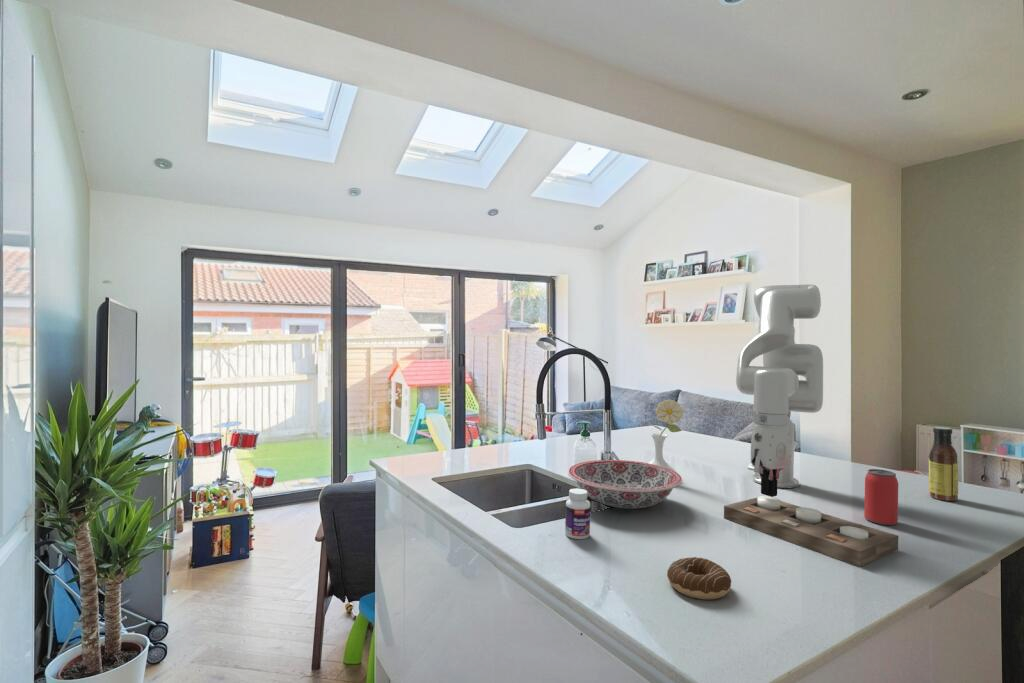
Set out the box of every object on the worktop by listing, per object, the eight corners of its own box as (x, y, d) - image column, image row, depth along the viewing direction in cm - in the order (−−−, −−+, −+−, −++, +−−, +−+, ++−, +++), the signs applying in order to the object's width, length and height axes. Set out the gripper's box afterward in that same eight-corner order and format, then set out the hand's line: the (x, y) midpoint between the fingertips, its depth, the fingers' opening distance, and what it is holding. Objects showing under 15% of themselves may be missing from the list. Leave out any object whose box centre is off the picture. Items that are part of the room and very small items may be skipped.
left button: (752, 505, 124) (753, 497, 124) (765, 502, 127) (765, 494, 127) (772, 512, 120) (772, 503, 120) (784, 508, 123) (784, 500, 123)
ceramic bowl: (597, 481, 154) (597, 454, 154) (695, 500, 137) (696, 470, 137) (547, 506, 130) (547, 475, 130) (658, 533, 113) (659, 498, 113)
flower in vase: (633, 480, 155) (635, 398, 155) (646, 472, 165) (648, 395, 164) (676, 487, 148) (678, 402, 147) (687, 479, 157) (689, 398, 157)
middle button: (791, 518, 116) (791, 509, 116) (803, 514, 119) (803, 506, 119) (813, 525, 112) (813, 516, 112) (825, 521, 115) (825, 512, 115)
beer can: (893, 519, 124) (894, 470, 124) (901, 528, 118) (902, 477, 118) (861, 514, 127) (862, 467, 127) (867, 523, 121) (868, 473, 121)
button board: (723, 517, 123) (724, 504, 123) (763, 507, 132) (763, 494, 132) (859, 566, 98) (860, 549, 98) (898, 550, 106) (898, 534, 106)
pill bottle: (574, 541, 108) (575, 496, 108) (560, 532, 113) (561, 489, 113) (594, 537, 110) (595, 492, 110) (580, 528, 115) (581, 486, 115)
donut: (743, 603, 84) (744, 579, 84) (681, 605, 83) (682, 581, 83) (713, 573, 94) (713, 552, 94) (658, 574, 94) (658, 553, 94)
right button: (834, 538, 108) (835, 528, 108) (847, 533, 111) (847, 524, 111) (860, 546, 104) (861, 536, 104) (872, 541, 106) (873, 532, 106)
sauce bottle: (946, 495, 144) (948, 425, 144) (964, 502, 138) (965, 430, 138) (922, 494, 145) (923, 425, 144) (938, 501, 138) (939, 429, 138)
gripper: (766, 424, 116) (765, 504, 116) (803, 420, 124) (801, 494, 124) (737, 419, 123) (735, 495, 123) (773, 415, 130) (772, 486, 130)
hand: (768, 494), depth 123 cm, fingers closed
